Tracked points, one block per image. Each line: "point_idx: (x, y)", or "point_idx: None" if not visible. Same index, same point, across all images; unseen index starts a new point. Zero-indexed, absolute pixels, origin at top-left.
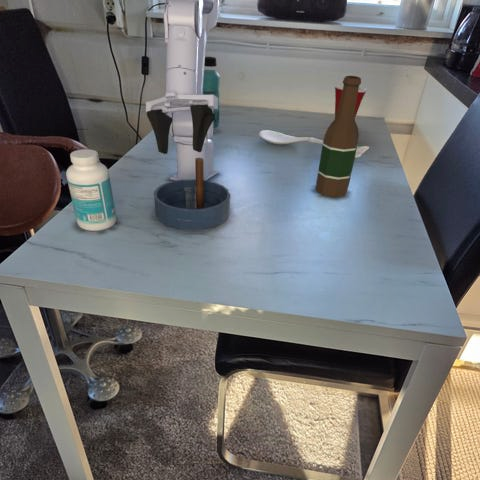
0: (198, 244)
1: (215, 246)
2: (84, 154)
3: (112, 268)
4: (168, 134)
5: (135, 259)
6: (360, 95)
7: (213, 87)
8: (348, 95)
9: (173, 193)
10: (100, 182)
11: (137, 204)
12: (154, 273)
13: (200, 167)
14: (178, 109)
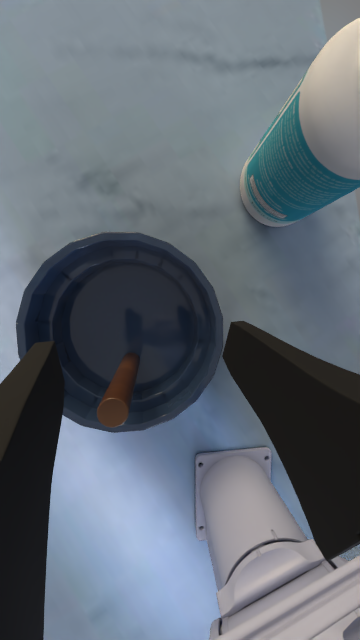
0: (43, 214)
1: (6, 225)
2: None
3: (137, 44)
4: (269, 433)
5: (120, 96)
6: None
7: None
8: None
9: (196, 352)
10: (302, 85)
11: (257, 305)
12: (53, 64)
13: (106, 392)
14: (274, 625)
